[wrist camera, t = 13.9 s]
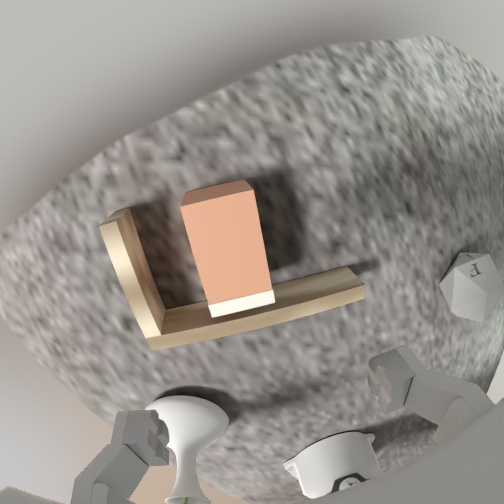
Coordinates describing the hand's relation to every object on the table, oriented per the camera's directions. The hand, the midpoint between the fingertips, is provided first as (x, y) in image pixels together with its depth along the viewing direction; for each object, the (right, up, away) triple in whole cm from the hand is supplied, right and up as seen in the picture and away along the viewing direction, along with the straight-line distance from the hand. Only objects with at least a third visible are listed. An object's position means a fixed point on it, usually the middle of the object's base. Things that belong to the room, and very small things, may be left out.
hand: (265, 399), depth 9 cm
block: (-3, +7, +16) cm, 17 cm away
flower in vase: (-10, -17, +24) cm, 31 cm away
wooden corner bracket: (-2, +6, +16) cm, 17 cm away
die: (+27, +2, +23) cm, 35 cm away
